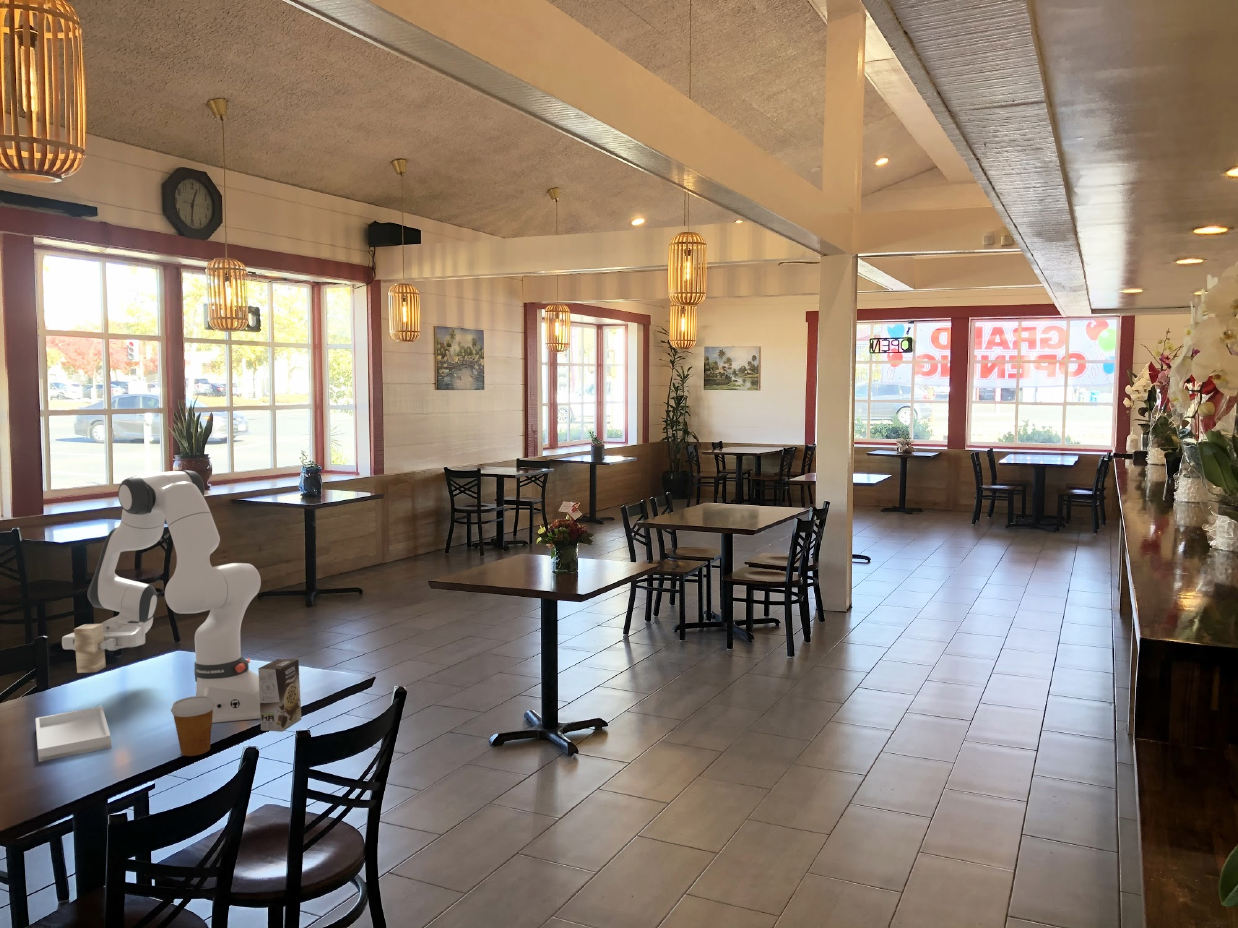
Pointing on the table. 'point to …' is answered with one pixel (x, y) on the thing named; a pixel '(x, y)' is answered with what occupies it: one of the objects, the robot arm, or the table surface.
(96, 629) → the ash block
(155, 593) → the robot arm
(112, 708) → the table surface
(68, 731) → the tray
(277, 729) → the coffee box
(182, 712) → the disposable coffee cup
